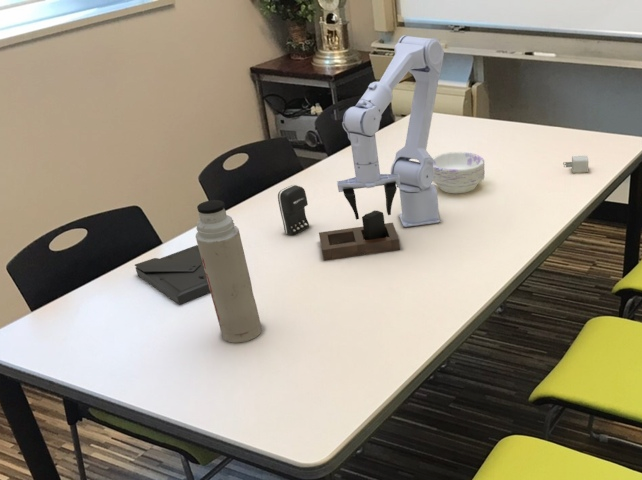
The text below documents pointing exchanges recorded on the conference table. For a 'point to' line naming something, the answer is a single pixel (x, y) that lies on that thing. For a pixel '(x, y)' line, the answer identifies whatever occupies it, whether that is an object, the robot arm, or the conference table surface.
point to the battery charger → (293, 209)
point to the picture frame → (177, 275)
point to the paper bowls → (458, 171)
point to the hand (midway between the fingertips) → (373, 215)
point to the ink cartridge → (374, 225)
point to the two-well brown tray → (356, 242)
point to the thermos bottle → (227, 273)
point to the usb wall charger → (578, 164)
